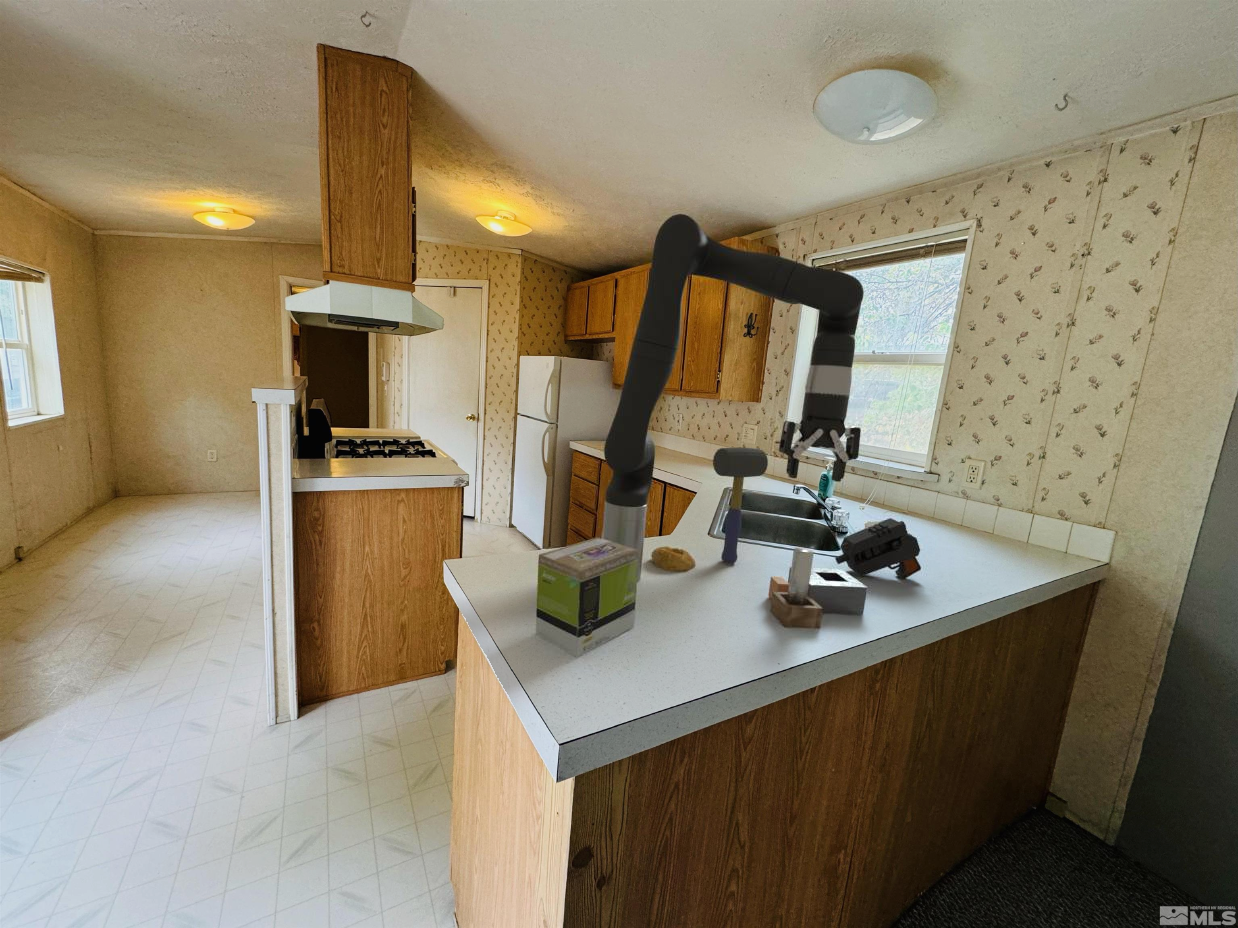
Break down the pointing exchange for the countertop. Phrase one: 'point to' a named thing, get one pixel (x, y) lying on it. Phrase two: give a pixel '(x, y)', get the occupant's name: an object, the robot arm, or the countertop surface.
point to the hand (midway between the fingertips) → (814, 479)
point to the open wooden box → (796, 612)
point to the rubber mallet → (737, 488)
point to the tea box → (586, 594)
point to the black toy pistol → (881, 549)
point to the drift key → (777, 585)
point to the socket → (836, 591)
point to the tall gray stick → (800, 576)
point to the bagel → (672, 559)
